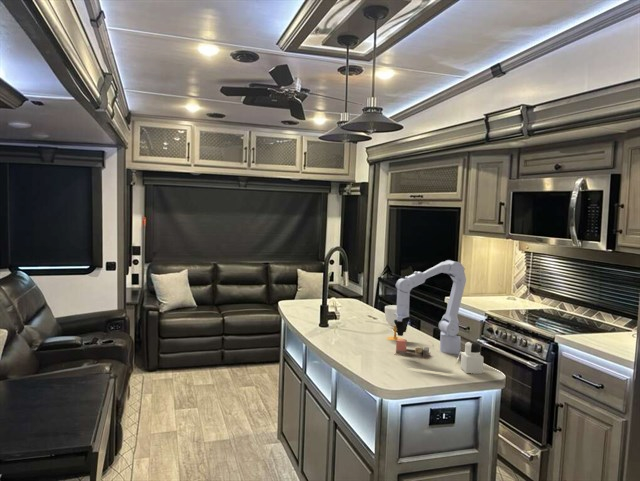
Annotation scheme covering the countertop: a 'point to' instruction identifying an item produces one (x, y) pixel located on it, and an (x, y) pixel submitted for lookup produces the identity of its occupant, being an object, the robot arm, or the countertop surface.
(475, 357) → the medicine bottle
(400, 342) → the block
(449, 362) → the countertop surface
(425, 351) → the cracker bench
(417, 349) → the cylinder
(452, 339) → the robot arm
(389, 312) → the cup
